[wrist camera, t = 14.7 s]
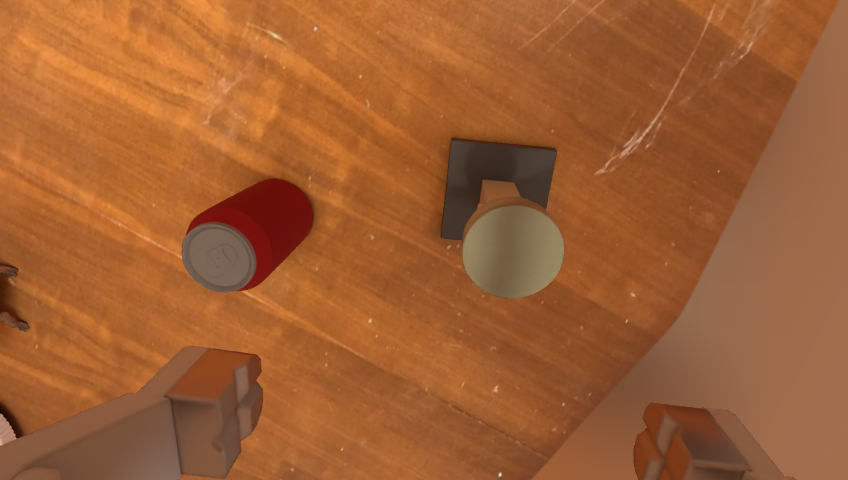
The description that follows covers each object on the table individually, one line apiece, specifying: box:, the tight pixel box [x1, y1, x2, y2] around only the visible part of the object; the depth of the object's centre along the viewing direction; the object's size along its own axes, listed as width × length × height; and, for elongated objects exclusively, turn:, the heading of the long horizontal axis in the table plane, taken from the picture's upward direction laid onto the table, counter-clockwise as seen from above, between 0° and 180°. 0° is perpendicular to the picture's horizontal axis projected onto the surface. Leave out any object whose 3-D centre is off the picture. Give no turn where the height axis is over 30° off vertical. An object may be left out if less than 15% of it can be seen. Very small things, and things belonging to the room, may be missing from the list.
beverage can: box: [182, 179, 313, 293], centre depth 38 cm, size 7×7×12 cm
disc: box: [462, 197, 564, 299], centre depth 28 cm, size 6×6×2 cm
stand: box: [441, 138, 557, 240], centre depth 35 cm, size 9×9×13 cm
